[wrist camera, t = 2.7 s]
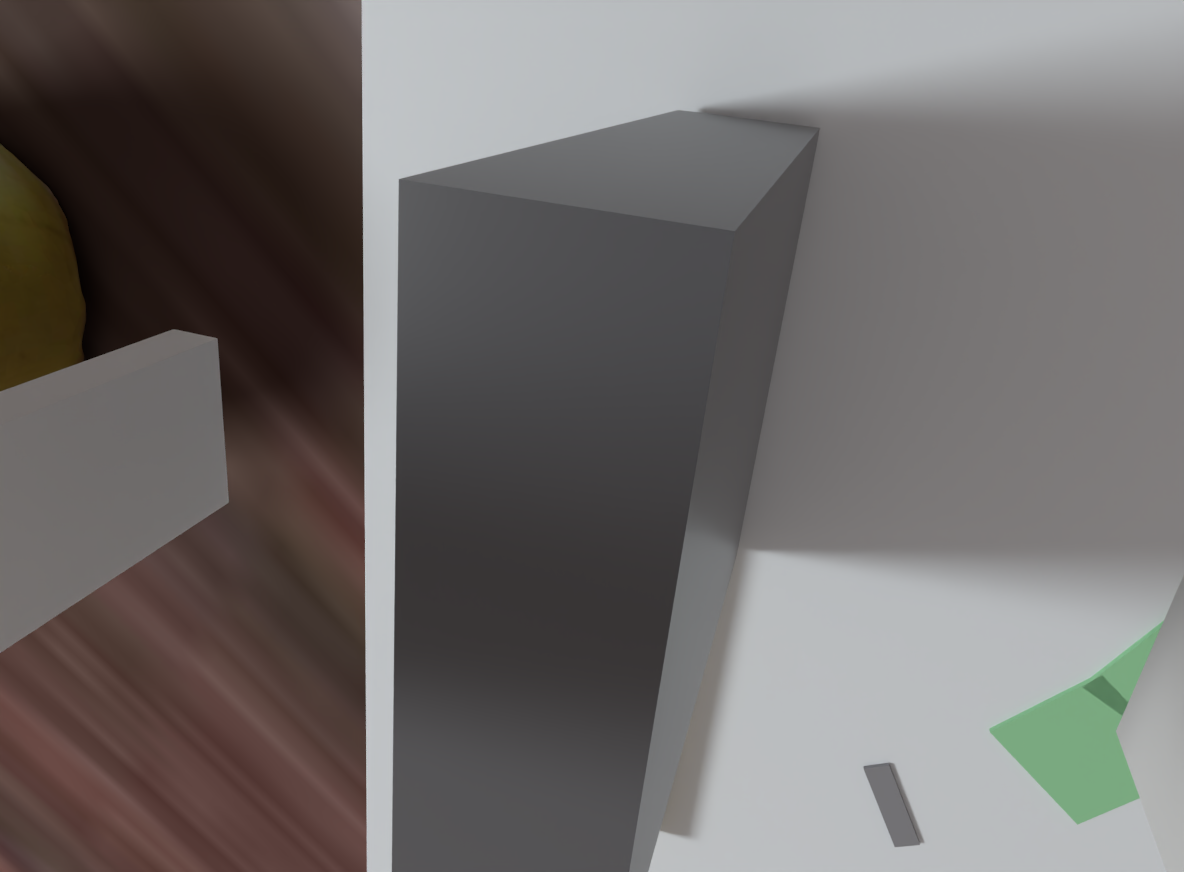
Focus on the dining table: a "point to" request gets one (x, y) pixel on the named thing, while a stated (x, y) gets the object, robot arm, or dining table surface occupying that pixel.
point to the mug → (36, 280)
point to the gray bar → (575, 475)
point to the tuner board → (877, 405)
